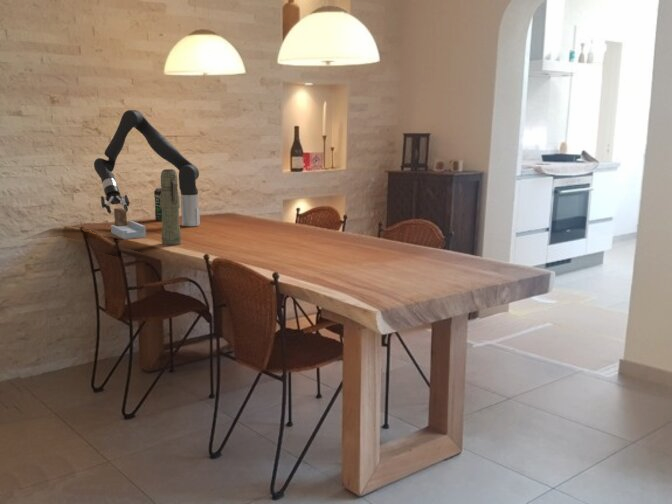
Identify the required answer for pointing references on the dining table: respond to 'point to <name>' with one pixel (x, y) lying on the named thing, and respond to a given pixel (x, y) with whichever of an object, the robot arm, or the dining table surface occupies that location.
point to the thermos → (170, 208)
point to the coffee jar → (158, 204)
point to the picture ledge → (129, 230)
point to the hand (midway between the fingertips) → (118, 212)
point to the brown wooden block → (120, 217)
